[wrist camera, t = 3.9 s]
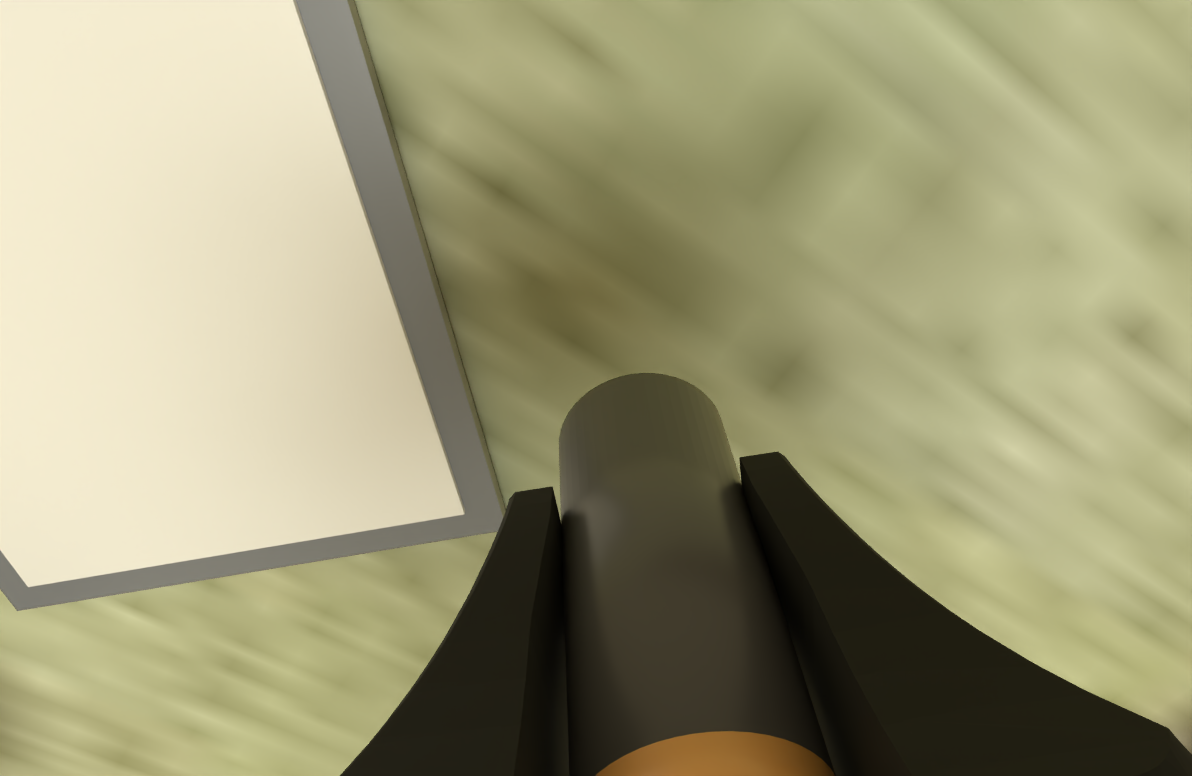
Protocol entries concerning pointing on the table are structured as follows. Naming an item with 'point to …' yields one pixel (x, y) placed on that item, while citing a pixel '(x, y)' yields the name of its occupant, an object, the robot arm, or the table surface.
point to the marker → (671, 598)
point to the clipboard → (214, 304)
